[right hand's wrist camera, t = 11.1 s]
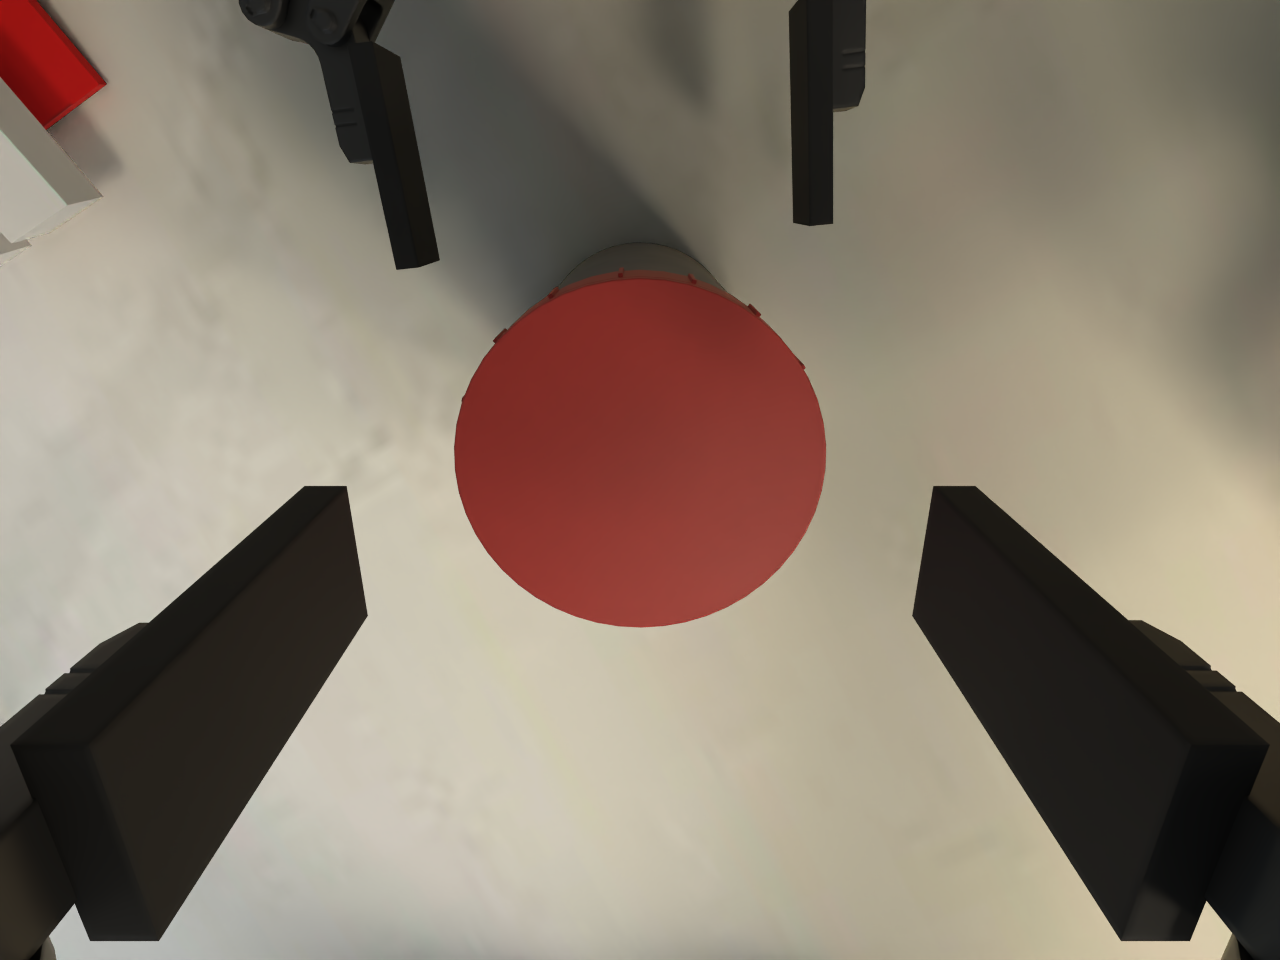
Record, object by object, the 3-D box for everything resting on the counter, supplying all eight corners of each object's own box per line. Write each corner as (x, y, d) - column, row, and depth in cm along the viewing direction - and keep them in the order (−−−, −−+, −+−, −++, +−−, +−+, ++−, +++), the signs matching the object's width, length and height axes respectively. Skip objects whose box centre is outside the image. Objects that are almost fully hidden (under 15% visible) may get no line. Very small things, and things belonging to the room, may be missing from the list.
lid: (483, 594, 21) (468, 631, 19) (451, 267, 17) (429, 276, 16) (796, 592, 21) (811, 629, 19) (824, 265, 17) (845, 273, 16)
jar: (549, 434, 34) (483, 611, 19) (539, 243, 30) (451, 288, 16) (731, 433, 34) (798, 610, 19) (739, 241, 30) (827, 285, 16)
